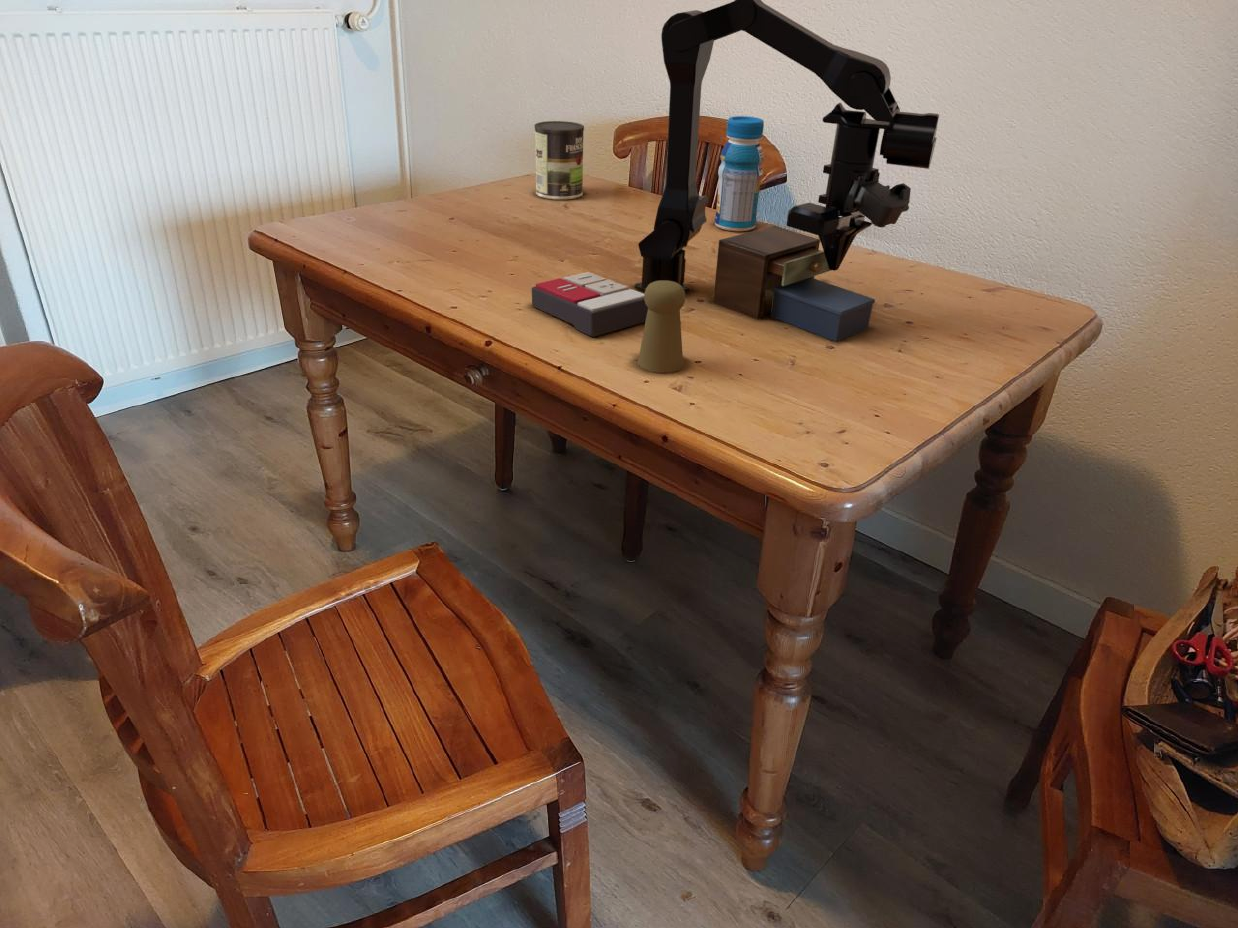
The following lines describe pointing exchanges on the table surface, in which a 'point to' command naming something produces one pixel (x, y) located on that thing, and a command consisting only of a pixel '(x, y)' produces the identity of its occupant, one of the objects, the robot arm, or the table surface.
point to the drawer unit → (753, 266)
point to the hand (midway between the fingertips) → (833, 269)
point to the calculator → (591, 303)
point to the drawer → (799, 265)
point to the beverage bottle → (740, 175)
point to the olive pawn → (662, 328)
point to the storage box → (822, 308)
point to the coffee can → (559, 159)
